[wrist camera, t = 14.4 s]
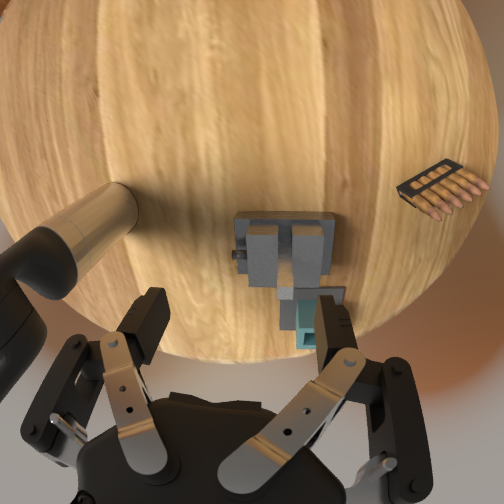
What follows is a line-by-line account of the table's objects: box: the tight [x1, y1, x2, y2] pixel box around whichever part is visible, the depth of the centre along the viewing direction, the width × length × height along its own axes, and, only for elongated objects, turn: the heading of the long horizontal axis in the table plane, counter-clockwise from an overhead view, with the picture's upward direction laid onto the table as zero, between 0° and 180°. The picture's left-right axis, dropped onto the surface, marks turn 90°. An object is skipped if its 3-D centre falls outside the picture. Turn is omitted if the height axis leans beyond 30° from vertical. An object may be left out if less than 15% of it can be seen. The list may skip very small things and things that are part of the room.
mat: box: [280, 287, 344, 330], centre depth 48 cm, size 11×10×1 cm
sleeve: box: [296, 300, 317, 349], centre depth 44 cm, size 5×5×7 cm
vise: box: [232, 211, 335, 300], centre depth 36 cm, size 14×9×14 cm, turn 92°
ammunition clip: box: [396, 159, 490, 221], centre depth 29 cm, size 11×2×12 cm, turn 125°
